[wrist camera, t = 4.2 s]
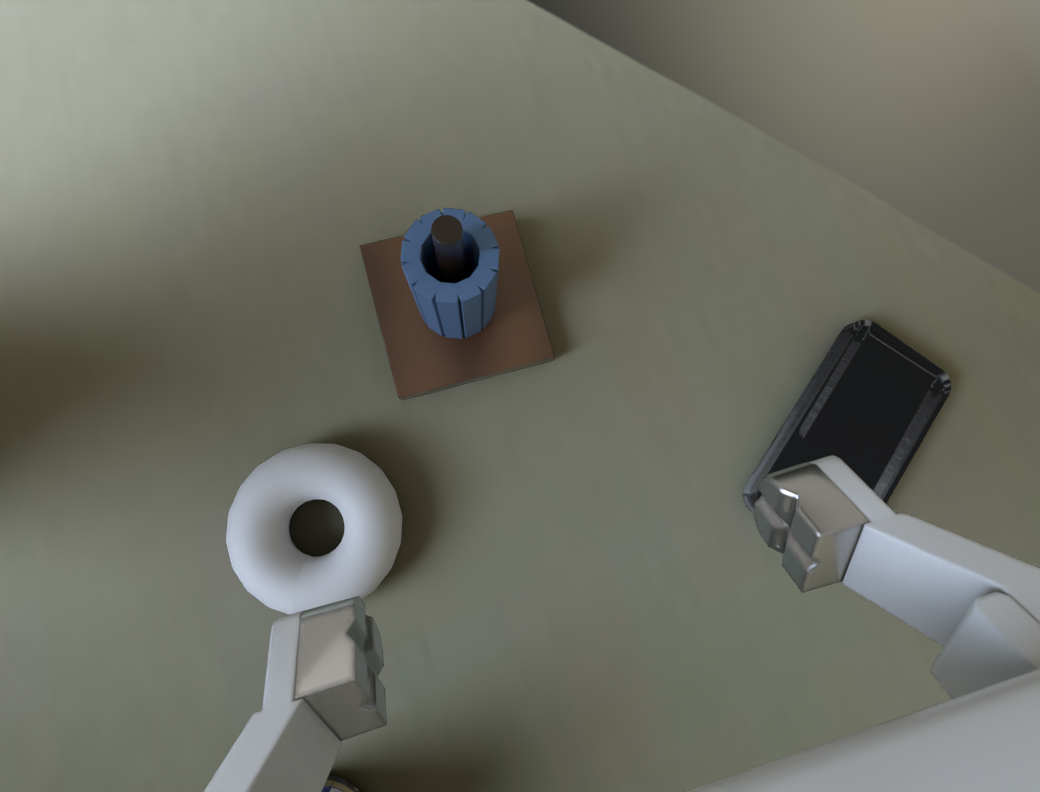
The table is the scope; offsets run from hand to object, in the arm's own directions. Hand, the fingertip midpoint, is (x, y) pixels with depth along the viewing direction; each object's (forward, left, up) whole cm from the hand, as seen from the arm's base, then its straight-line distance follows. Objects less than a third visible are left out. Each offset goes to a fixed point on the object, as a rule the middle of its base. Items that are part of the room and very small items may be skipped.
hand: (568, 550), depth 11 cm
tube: (-9, +8, -24) cm, 27 cm away
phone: (+17, +15, -25) cm, 34 cm away
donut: (-8, -8, -25) cm, 28 cm away
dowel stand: (-9, +8, -25) cm, 28 cm away
